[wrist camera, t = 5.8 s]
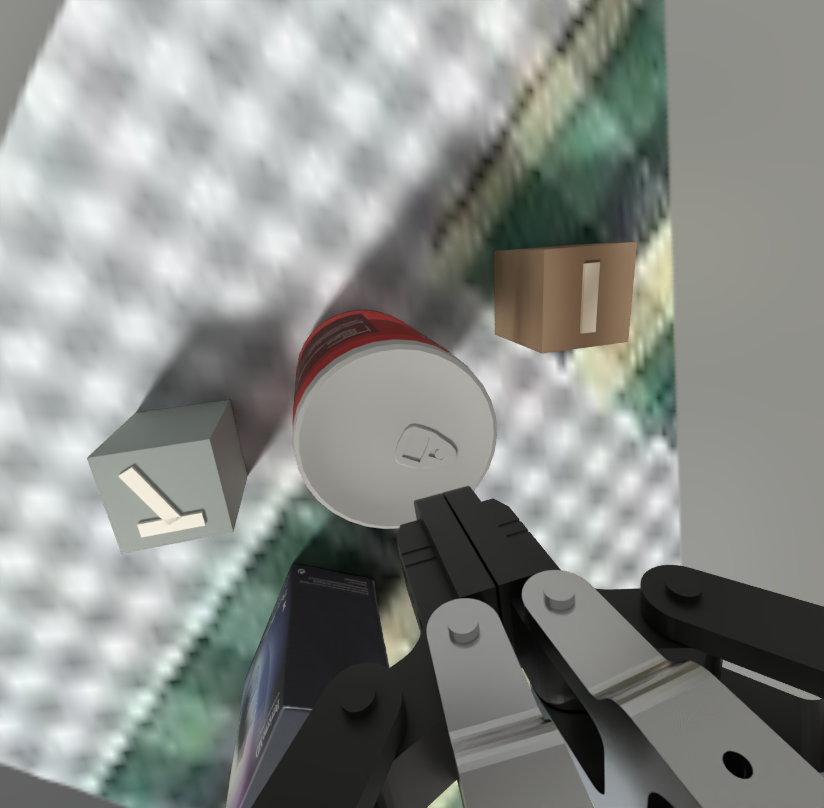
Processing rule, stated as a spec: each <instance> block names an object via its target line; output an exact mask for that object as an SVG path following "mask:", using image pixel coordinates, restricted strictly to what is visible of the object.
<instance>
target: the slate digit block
mask: <svg viewBox="0 0 824 808" xmlns="http://www.w3.org/2000/svg"><path fill="white" fill-rule="evenodd" d="M87 460H88V463H89V465H90V468H91V471H92V474H93V476H94V479H95V482H96V485H97V487H98V490H99V493H100V496H101V498H102V501H103V504H104V507H105V509H106V512H107V515H108V518H109V520H110V523H111V526H112V529H113V531H114V534H115V537H116V540H117V542H118V545H119V548H120V551H121V554H123V553H128V552H133V551H138V550H143V549H149V548H154V547H159V546H164V545H169V544H174V543H180V542H185V541H190V540H195V539H200V538H205V537H210V536H216V535H221V534H226V533H231V532H233V531H234V527H235V523H236V519H237V515H238V511H239V508H240V504H241V500H242V496H243V492H244V488H245V484H246V480H247V471H246V467H245V463H244V458H243V454H242V450H241V445H240V441H239V437H238V432H237V428H236V424H235V419H234V415H233V411H232V406H231V402H230V400H223V401H216V402H209V403H201V404H194V405H187V406H180V407H173V408H165V409H158V410H151V411H144V412H137V413H135V414H134V415H133V416H132V417H130V418H129V419H128V420H127V421H126V422H125V423H124V424H123V425H122V426H121V427H120V428H119V429H118V430H116V431H115V432H114V433H113V434H112V435H111V436H110V437H109V438H108V439H107V440H106V441H105V442H104V443H103V444H101V445H100V446H99V447H98V448H97V449H96V450H95V451H94V452H93V453H92V454H91V455H90V456H89V457H87Z"/></svg>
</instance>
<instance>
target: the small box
mask: <svg viewBox="0 0 824 808" xmlns="http://www.w3.org/2000/svg"><path fill="white" fill-rule="evenodd" d="M366 662H371V663H378V664H381V665H384V666H386V667H387V668H389V664H388V658H387V653H386V647H385V643H384V639H383V633H382V627H381V622H380V616H379V611H378V604H377V598H376V592H375V585H374V581H373V579H369V578H367V577H358V576H355V575H354V576H353V575H348V574H343V573H338V572H333V571H329V570H324V569H320V568H318V567H310V566H304V565H298V564H293V565H292V566H291V568H290V570H289V572H288V575H287V577H286V580H285V582H284V585H283V587H282V590H281V592H280V595H279V597H278V600H277V602H276V605H275V607H274V609H273V612H272V614H271V617H270V619H269V622H268V624H267V627H266V629H265V631H264V634H263V636H262V639H261V641H260V644H259V646H258V649H257V651H256V654H255V656H254V659H253V661H252V664H251V666H250V669H249V671H248V674H247V676H246V679H245V685H244V691H243V698H242V704H241V711H240V718H239V724H238V731H237V738H236V745H235V751H234V758H233V764H232V770H231V777H230V784H229V791H228V798H227V805H226V808H251V807H252V805H253V804H254V802H255V800H256V799H257V797H258V796H259V794H260V792H261V791H262V789H263V788H264V786H265V784H266V783H267V781H268V780H269V778H270V776H271V775H272V773H273V772H274V770H275V768H276V767H277V765H278V764H279V762H280V760H281V759H282V757H283V755H284V754H285V752H286V751H287V749H288V747H289V746H290V744H291V743H292V741H293V739H294V738H295V736H296V735H297V733H298V731H299V730H300V728H301V727H302V725H303V723H304V722H305V720H306V719H307V717H308V715H309V714H310V712H311V711H312V709H313V707H314V706H315V704H316V703H317V701H318V699H319V698H320V696H321V695H322V693H323V691H324V690H325V688H326V687H327V686H328V684H329V683H330V682H331V681H332V679H333V678H334V677H335V676H337V675H338V674H339V673H340V672H342V671H343V670H345V669H347V668H348V667H351V666H353V665H356V664H360V663H366Z"/></svg>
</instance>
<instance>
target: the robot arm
mask: <svg viewBox="0 0 824 808" xmlns="http://www.w3.org/2000/svg"><path fill="white" fill-rule="evenodd" d="M414 508H415V513H416V518H417V520H416V521H412V522H409V523H405V524H402V525H400V527H399V531H398V535H397V539H396V541H397V545H398V550H399V555H400V559H401V564H402V569H403V573H404V578H405V583H406V587H407V590H408V594H409V597H410V600H411V603H412V607H413V610H414V613H415V616H416V619H417V623H418V626H419V629H420V632H421V635H420V638H419V640H418V642H417V644H416V645H415V647H414V648H413V650H412V651H411V652H410V653H409V654H408V655H407V656H405V657H404V658H403V659H402V660H400V661H399V662H397V663H396V664H395V665H393V666H392V667H390V668H387V667H386V666H384V665H381V664H378V663H371V662H366V663H360V664H356V665H353V666H351V667H348V668H347V669H345V670H343V671H342V672H340V673H339V674H338V675H337V676H335V677H334V678H333V679H332V681H331V682H330V683H329V684H328V686H327V687H326V688H325V690H324V691H323V693H322V695H321V696H320V698H319V699H318V701H317V703H316V704H315V706H314V707H313V709H312V711H311V712H310V714H309V715H308V717H307V719H306V720H305V722H304V723H303V725H302V727H301V728H300V730H299V731H298V733H297V735H296V736H295V738H294V739H293V741H292V743H291V744H290V746H289V747H288V749H287V751H286V752H285V754H284V755H283V757H282V759H281V760H280V762H279V764H278V765H277V767H276V768H275V770H274V772H273V773H272V775H271V776H270V778H269V780H268V781H267V783H266V784H265V786H264V788H263V789H262V791H261V792H260V794H259V796H258V797H257V799H256V800H255V802H254V804H253V805H252V807H251V808H427V807H428V806H429V805H430V804H431V803H432V802H433V801H434V800H435V799H436V798H437V797H438V796H440V795H441V794H442V793H443V792H444V791H445V790H446V789H447V788H448V787H449V786H450V785H451V784H453V783H454V782H455V781H456V780H457V782H458V787H459V791H460V796H461V800H462V805H463V808H594V806H595V808H824V607H823V606H819V605H816V604H813V603H809V602H806V601H802V600H799V599H795V598H792V597H788V596H785V595H781V594H778V593H774V592H771V591H768V590H764V589H761V588H757V587H754V586H750V585H747V584H744V583H740V582H736V581H733V580H730V579H726V578H723V577H719V576H716V575H712V574H709V573H706V572H702V571H699V570H695V569H692V568H688V567H684V566H678V565H662V566H657V567H654V568H652V569H650V570H648V571H647V572H646V573H645V574H644V575H643V577H642V579H641V587H640V589H613V590H605V589H596V588H594V587H593V586H592V585H591V584H590V583H588V582H587V581H586V580H585V579H583V578H582V577H580V576H578V575H576V574H573V573H570V572H567V571H562V570H560V568H559V567H558V566H557V565H556V564H555V562H554V561H553V560H552V559H551V557H550V556H549V555H548V554H547V553H546V551H545V550H544V549H543V548H542V546H541V545H540V544H539V543H538V542H537V540H536V539H535V538H534V537H533V535H532V534H531V533H530V532H528V530H527V528H526V527H525V526H524V524H523V523H522V522H520V521H519V518H518V517H517V516H516V515H515V513H514V512H513V511H512V510H511V509H510V507H508V506H507V505H505V504H503V503H501V502H499V501H497V500H495V499H490V500H486V501H482V502H481V501H480V499H479V498H478V497H477V495H476V494H475V493H474V491H473V490H472V488H471V487H470V486H465V487H461V488H457V489H454V490H450V491H446V492H443V493H442V494H441V493H440V494H436V495H432V496H429V497H425V498H421V499H418V500H414ZM723 660H725V661H728V662H731V663H733V664H736V665H738V666H741V667H744V668H746V669H749V670H751V671H754V672H757V673H759V674H762V675H764V676H767V677H770V678H772V679H775V680H777V681H780V682H783V683H785V684H788V685H790V686H793V687H795V688H798V689H801V690H803V691H806V692H808V693H811V694H813V695H816V696H818V697H820V698H822V699H820V700H806V699H802V698H799V697H796V696H794V695H791V694H789V693H786V692H784V691H781V690H778V689H776V688H774V687H771V686H768V685H766V684H764V683H761V682H758V681H756V680H753V679H751V678H748V677H746V676H743V675H741V674H738V673H736V672H733V671H731V670H728V669H726V668H723V667H722V663H723ZM521 668H523V669H524V671H525V673H526V675H527V677H528V679H529V681H530V685H531V689H530V687H529V685H528V683H527V680H526V678H525V676H524V673H523V671H522V669H521ZM590 799H591V800H590ZM591 801H592V802H593V804H594V806H593V804H592V802H591Z"/></svg>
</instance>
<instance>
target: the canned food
mask: <svg viewBox="0 0 824 808" xmlns="http://www.w3.org/2000/svg"><path fill="white" fill-rule="evenodd" d="M496 438H497V427H496V416H495V412H494V409H493V405H492V402H491V399H490V397H489V395H488V393H487V392H486V390H485V388H484V386H483V384H482V383H481V382H480V381H479V380H478V378H477V377H476V376H475V375H474V374H473V372H472V371H471V370H470V369H469V368H468V366H466V365H465V364H464V363H463V362H461V361H460V360H459V359H457V358H456V357H455V356H454V355H452V354H451V353H449V352H448V351H447V350H446V349H444V348H443V347H441V346H440V345H438V344H436V343H435V342H433V341H432V340H430V339H429V338H427V337H426V336H424V335H422V334H421V333H419V332H418V331H416V330H415V329H413V328H411V327H410V326H408V325H407V324H405V323H404V322H402V321H400V320H398V319H396V318H394V317H392V316H390V315H388V314H384V313H381V312H377V311H367V310H359V311H350V312H346V313H343V314H340V315H337V316H334V317H332V318H331V319H329V320H327V321H325V322H324V323H322V324H321V325H320V326H319V327H318V328H317V329H315V330H314V331H313V332H312V334H311V335H310V336H309V338H308V339H307V340H306V342H305V343H304V346H303V348H302V350H301V352H300V354H299V359H298V364H297V371H296V383H295V395H294V407H293V449H294V453H295V457H296V461H297V465H298V470H299V472H300V474H301V476H302V478H303V480H304V482H305V484H306V486H307V487H308V489H309V490H310V491H311V492H312V494H313V495H314V496H315V497H316V499H317V500H318V501H319V502H320V503H322V504H323V505H324V506H325V507H327V508H328V509H329V510H330V511H332V512H333V513H335V514H337V515H338V516H340V517H342V518H344V519H346V520H348V521H350V522H354V523H357V524H360V525H363V526H367V527H374V528H383V529H393V528H399V527H400V525H402V524H405V523H409V522H412V521H416V520H417V518H416V513H415V508H414V500H418V499H421V498H425V497H429V496H432V495H436V494H440V493H441V494H442V493H443V492H446V491H450V490H454V489H457V488H461V487H465V486H470V487H471V488H472V490H473V491H474V490H475V488H476V487H477V486H478V485H479V484H480V482H481V480H482V479H483V477H484V475H485V474H486V472H487V470H488V468H489V466H490V463H491V460H492V457H493V454H494V451H495V445H496Z"/></svg>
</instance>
